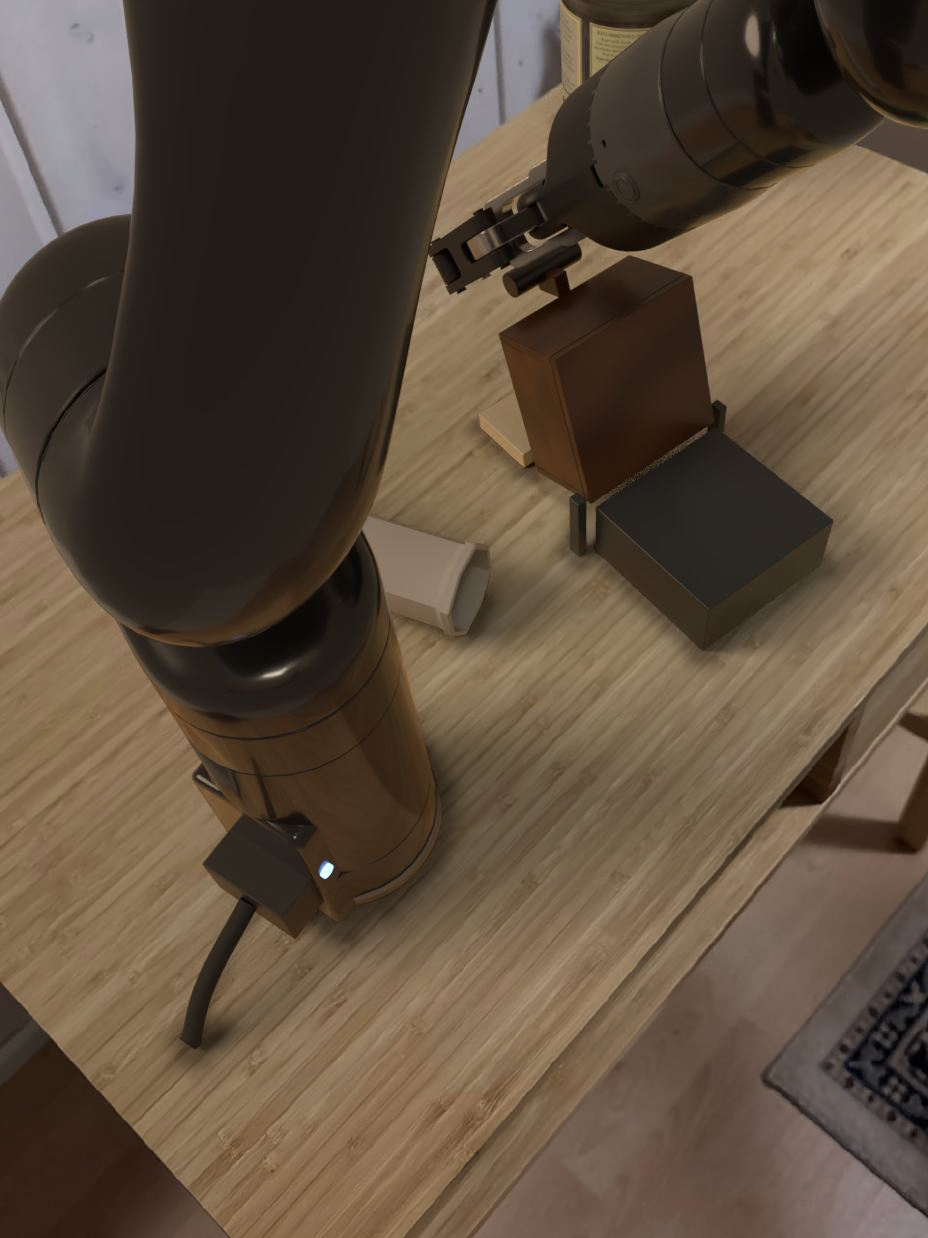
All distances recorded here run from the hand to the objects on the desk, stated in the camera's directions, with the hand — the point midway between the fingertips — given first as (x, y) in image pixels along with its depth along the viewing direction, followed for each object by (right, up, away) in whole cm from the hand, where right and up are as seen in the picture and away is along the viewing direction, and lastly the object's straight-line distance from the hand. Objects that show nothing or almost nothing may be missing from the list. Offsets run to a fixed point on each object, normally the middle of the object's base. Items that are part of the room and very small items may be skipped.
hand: (513, 232), depth 61 cm
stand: (+11, -17, +3) cm, 20 cm away
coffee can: (+10, +12, +23) cm, 28 cm away
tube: (-13, -17, +6) cm, 22 cm away
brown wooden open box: (+6, -8, -2) cm, 11 cm away
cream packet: (+1, -9, +8) cm, 12 cm away
